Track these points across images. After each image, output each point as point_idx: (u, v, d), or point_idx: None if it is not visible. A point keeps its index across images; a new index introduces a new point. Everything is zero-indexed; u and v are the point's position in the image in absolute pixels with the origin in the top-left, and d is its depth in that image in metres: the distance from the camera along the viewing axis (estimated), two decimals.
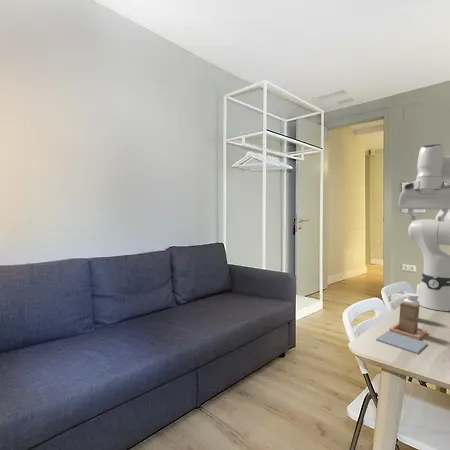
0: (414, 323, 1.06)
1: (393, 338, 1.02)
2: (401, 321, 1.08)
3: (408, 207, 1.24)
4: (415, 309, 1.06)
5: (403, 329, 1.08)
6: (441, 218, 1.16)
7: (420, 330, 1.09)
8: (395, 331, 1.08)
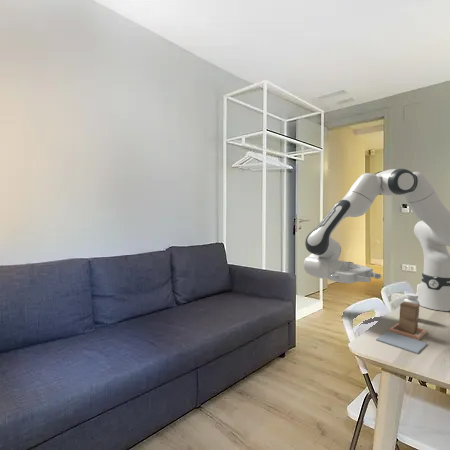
0: (414, 323, 1.06)
1: (393, 338, 1.02)
2: (401, 321, 1.08)
3: None
4: (415, 309, 1.06)
5: (403, 329, 1.08)
6: None
7: (420, 330, 1.09)
8: (395, 331, 1.08)
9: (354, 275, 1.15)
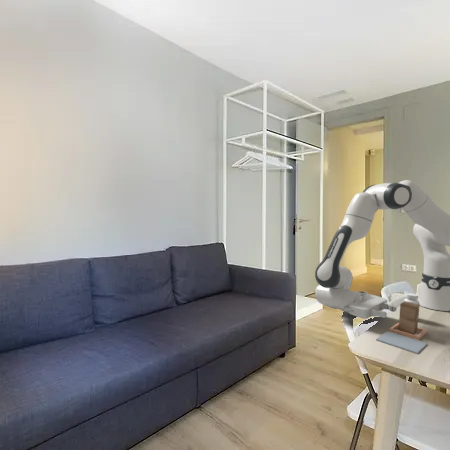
0: (414, 323, 1.06)
1: (393, 338, 1.02)
2: (401, 321, 1.08)
3: (382, 309, 1.21)
4: (415, 309, 1.06)
5: (403, 329, 1.08)
6: None
7: (420, 330, 1.09)
8: (395, 331, 1.08)
9: (369, 310, 1.11)
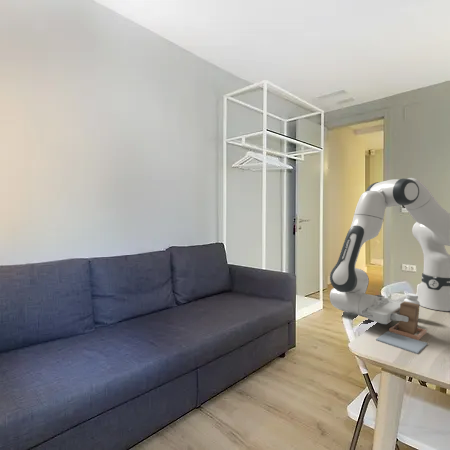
0: (414, 323, 1.06)
1: (393, 338, 1.02)
2: (401, 321, 1.08)
3: None
4: (415, 309, 1.06)
5: (403, 329, 1.08)
6: None
7: (420, 330, 1.09)
8: (395, 331, 1.08)
9: (389, 315, 1.06)
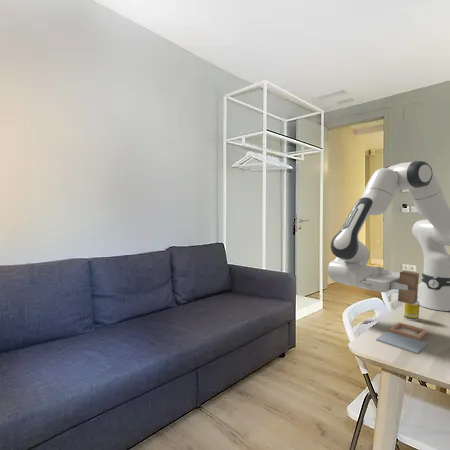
0: (414, 291, 1.03)
1: (393, 338, 1.02)
2: (401, 290, 1.05)
3: None
4: (415, 277, 1.03)
5: (402, 298, 1.05)
6: None
7: (420, 330, 1.09)
8: (395, 331, 1.08)
9: (388, 283, 1.03)
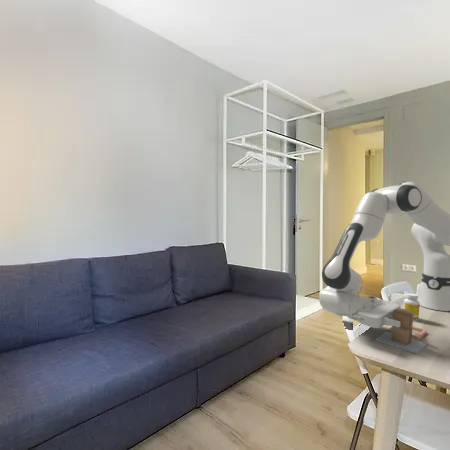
0: (408, 332, 0.98)
1: None
2: (395, 329, 1.00)
3: None
4: (409, 316, 0.97)
5: (396, 338, 0.99)
6: None
7: (420, 330, 1.09)
8: None
9: (381, 318, 0.98)
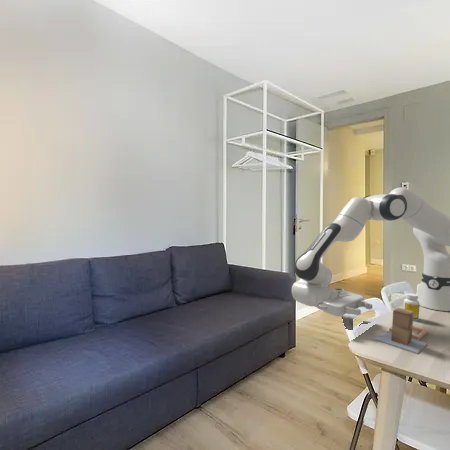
0: (408, 332, 0.98)
1: None
2: (395, 329, 1.00)
3: (358, 307, 1.16)
4: (409, 316, 0.97)
5: (396, 338, 0.99)
6: None
7: (420, 330, 1.09)
8: None
9: (343, 307, 1.07)
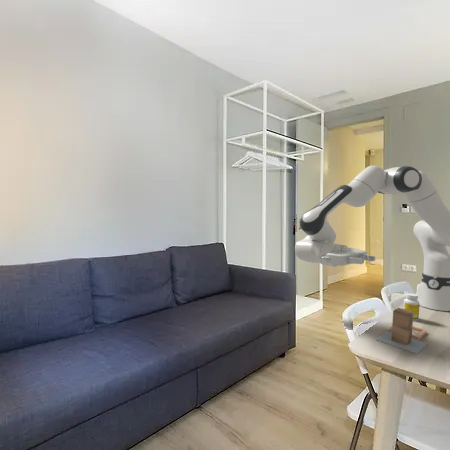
0: (408, 332, 0.98)
1: None
2: (395, 329, 1.00)
3: None
4: (409, 316, 0.97)
5: (396, 338, 0.99)
6: (359, 263, 1.07)
7: (420, 330, 1.09)
8: None
9: (346, 257, 1.08)
